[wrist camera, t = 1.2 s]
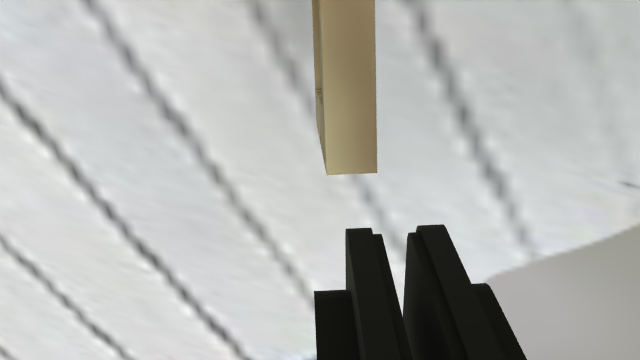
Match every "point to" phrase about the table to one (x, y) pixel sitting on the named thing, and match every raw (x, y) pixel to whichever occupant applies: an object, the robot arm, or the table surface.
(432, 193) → the table surface
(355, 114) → the picture frame
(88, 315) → the table surface
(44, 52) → the table surface
